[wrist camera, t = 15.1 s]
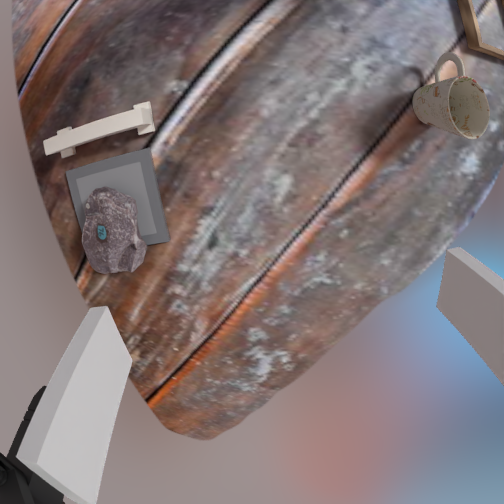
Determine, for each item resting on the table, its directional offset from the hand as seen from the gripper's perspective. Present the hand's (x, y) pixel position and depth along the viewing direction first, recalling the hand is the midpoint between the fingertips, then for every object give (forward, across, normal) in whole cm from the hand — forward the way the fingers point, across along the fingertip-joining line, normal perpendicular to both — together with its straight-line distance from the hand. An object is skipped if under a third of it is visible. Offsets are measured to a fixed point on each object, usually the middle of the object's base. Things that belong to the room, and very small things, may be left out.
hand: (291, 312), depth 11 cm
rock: (+31, -17, 0) cm, 35 cm away
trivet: (+31, -18, -1) cm, 36 cm away
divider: (+31, -18, +10) cm, 37 cm away
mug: (+31, +29, +10) cm, 44 cm away
